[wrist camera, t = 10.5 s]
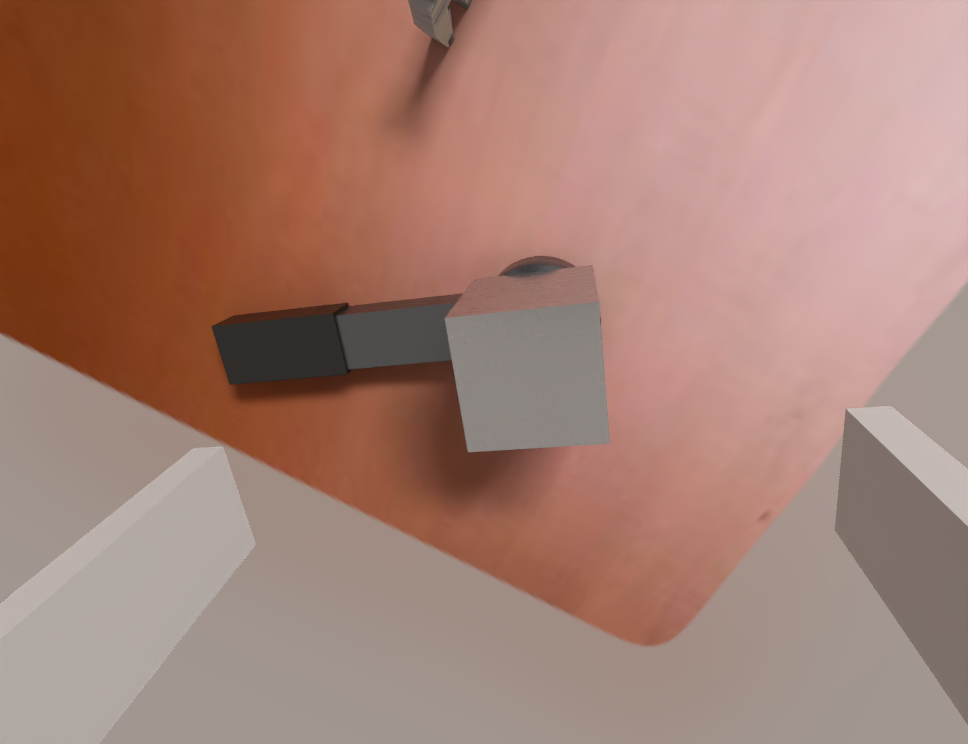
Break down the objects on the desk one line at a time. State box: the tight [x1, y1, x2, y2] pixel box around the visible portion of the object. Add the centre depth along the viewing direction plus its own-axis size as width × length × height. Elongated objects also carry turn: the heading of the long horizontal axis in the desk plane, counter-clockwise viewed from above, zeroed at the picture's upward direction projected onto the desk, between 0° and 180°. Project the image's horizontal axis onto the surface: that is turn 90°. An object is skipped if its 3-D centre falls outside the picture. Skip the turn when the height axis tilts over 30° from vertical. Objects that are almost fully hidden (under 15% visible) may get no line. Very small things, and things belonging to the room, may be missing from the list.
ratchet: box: [212, 256, 601, 385], centre depth 29 cm, size 6×20×6 cm, turn 98°
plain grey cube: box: [445, 265, 610, 452], centre depth 25 cm, size 6×6×7 cm
